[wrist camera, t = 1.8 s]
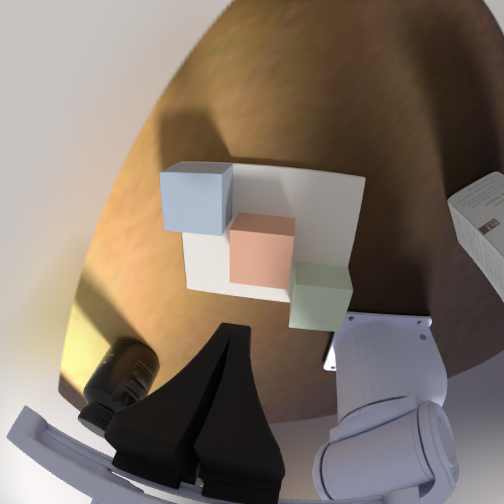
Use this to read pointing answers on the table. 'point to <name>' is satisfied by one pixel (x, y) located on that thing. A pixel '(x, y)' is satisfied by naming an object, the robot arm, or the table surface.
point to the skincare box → (482, 225)
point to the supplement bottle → (118, 383)
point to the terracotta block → (261, 250)
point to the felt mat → (285, 205)
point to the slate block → (197, 197)
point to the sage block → (320, 297)
